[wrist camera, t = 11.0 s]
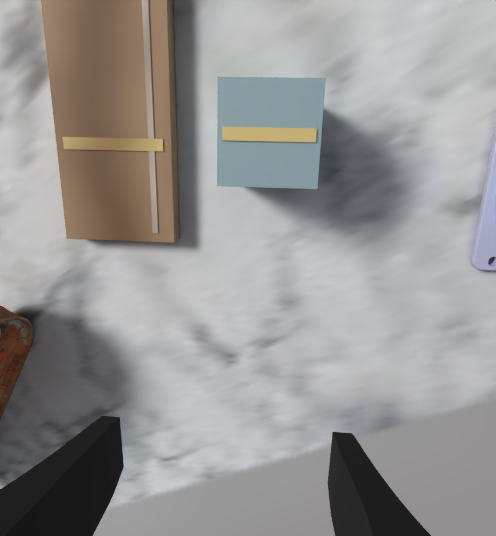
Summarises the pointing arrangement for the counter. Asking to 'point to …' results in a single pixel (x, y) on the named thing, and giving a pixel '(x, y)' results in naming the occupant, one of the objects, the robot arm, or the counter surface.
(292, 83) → the block
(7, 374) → the tin
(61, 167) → the walnut board
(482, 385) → the counter surface
